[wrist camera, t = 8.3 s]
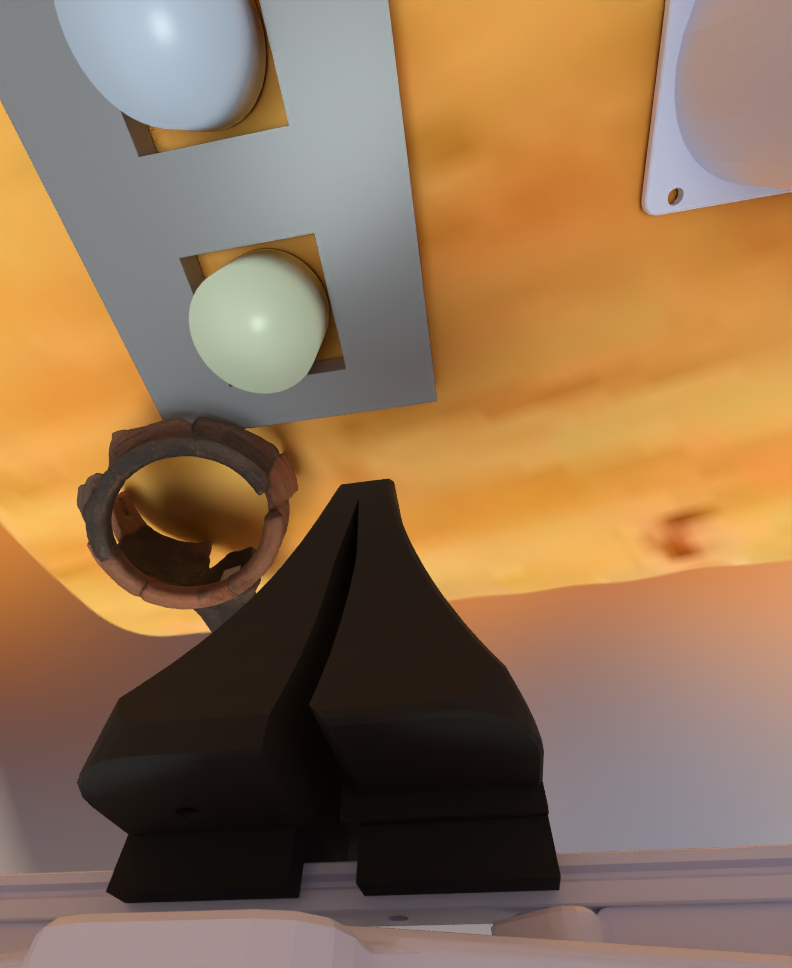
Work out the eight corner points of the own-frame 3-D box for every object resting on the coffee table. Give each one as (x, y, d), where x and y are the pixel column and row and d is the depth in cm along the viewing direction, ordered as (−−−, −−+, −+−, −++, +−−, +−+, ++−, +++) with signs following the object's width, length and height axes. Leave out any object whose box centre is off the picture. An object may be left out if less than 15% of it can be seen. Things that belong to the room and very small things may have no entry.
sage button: (313, 238, 17) (297, 255, 15) (340, 353, 20) (330, 384, 17) (201, 259, 18) (166, 278, 15) (241, 368, 20) (217, 401, 18)
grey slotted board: (239, -1218, 7) (202, -1520, 6) (435, 386, 21) (437, 401, 20) (-431, -864, 8) (-580, -1043, 7) (185, 423, 22) (172, 438, 21)
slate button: (235, -86, 13) (192, -145, 10) (284, 117, 15) (259, 111, 13) (87, -47, 13) (10, -94, 11) (158, 144, 16) (109, 143, 13)
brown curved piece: (71, 450, 24) (-7, 483, 16) (245, 376, 26) (249, 374, 18) (191, 632, 28) (175, 728, 20) (335, 556, 30) (370, 617, 22)
